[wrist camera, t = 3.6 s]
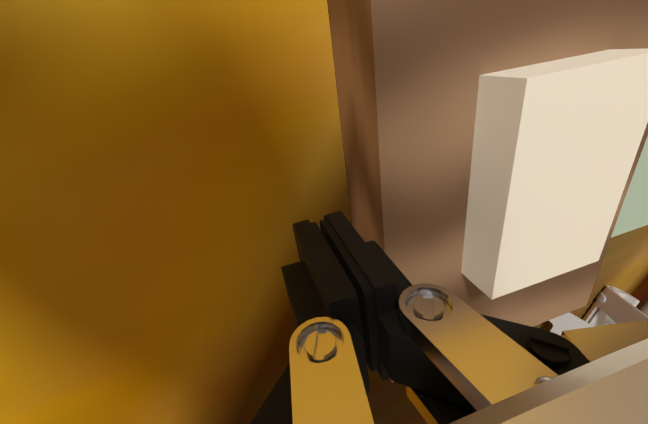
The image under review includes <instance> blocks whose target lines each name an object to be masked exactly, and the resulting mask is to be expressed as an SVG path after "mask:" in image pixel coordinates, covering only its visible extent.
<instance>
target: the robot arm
mask: <svg viewBox="0 0 648 424" xmlns="http://www.w3.org/2000/svg"><path fill="white" fill-rule="evenodd" d="M320 228H321V230H320V229H319V227H318V225H317V223H316V222H313V223H310V221H309V220H304V221H301V222H297V223H293V230H294V234H295V239H296V244H297V248H298V253H299V257H300V262H296V263H293V264H290V265H286V266H283V267H281V269H282V273H283V277H284V281H285V285H286V289H287V293H288V296H289V300H290V304H291V307H292V311H293V314H294V318H295V321H296V325H297V329H296V330H295V331H294V333H293V335H292V337H291V339H290V344H289V357H290V364H289V365H288V367H287V368H286V370H285V371H284V373H283V374H282V376H281V377H280V379H279V380H278V382H277V384H276V385H275V387H274V388H273V390H272V391H271V393H270V394H269V396H268V397H267V399H266V400H265V402H264V403H263V405H262V406H261V408H260V409H259V411H258V412H257V414H256V415H255V417H254V418H253V420H252V421H251V423H250V424H374V421H373V417H372V414H371V410H370V406H369V402H368V399H367V394H368V391H369V381H368V372H367V364H368V366H369V368H370V370H371V371H375V370H378V372H379V374H380V376H381V378H382V380H386V379H388V378H391V380H392V381H394V382H397V383H400V384H402V387H403V389H404V391H405V393H406V395H407V396H408V398H409V399H410V400H411V402H412V403H413V404H414V406H415V407H416V408H417V410H418V411H419V412H420V414H421V415H422V416H423V418H424V419H425V421H426V422H427V423H428V424H648V322H647V321H632V322H625V323H618V324H610V325H603V326H595V327H588V328H580V329H573V330H565V331H562V334H561V336H560V335H558V334H556V333H553V332H550V331H547V330H543V329H539V328H535V327H531V326H527V325H523V324H519V323H515V322H511V321H507V320H503V319H499V318H495V317H490V316H486V315H482V314H479V313H478V312H476V311H475V310H474V309H472V308H471V307H470V306H469V305H467V304H466V303H465V302H463V301H462V300H461V299H460V298H458V297H457V296H456V295H454V294H453V293H452V292H450V291H449V290H447V289H445V288H444V287H441V286H438V285H435V284H428V283H422V284H415V285H412V284H411V283H410V281H409V280H408V279H407V278H406V277H405V276H404V274H403V273H402V272H401V271H400V270H399V269H398V267H397V266H396V265H395V264H394V263H393V261H392V260H391V259H390V258H389V257H388V256H387V254H386V253H385V252H384V251H383V250H382V249H381V247H380V246H379V245H378V244H377V243H376V242H375V241H373V240H371V241H368V242H365V241H364V240H363V239H362V237H361V236H360V235H359V234H358V232H357V231H356V230H355V229H354V227H353V226H352V225H351V224H350V222H349V221H348V220H347V219H346V217H345V216H344V215H343V214H342V212H341V211H338V212H334V213H331V214H327V215H325V216H324V220H321V221H320ZM366 362H367V363H366Z"/></svg>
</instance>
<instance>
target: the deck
mask: <svg viewBox="0 0 648 424" xmlns="http://www.w3.org/2000/svg"><path fill="white" fill-rule="evenodd" d="M327 2H328V11H329V21H330V30H331V39H332V48H333V57H334V66H335V75H336V84H337V93H338V102H339V111H340V120H341V129H342V138H343V147H344V156H345V165H346V174H347V184H348V193H349V202H350V211H351V220H352V226H353V227H354V229H355V230H356V231H357V232H358V234H359V235H360V236H361V237H362V239H363V240H364V241H365V242H368V241H371V240H373V241H375V242H376V243H377V244H378V245H379V246H380V247H381V249H382V250H383V251H384V252H385V253H386V254H387V256H388V257H389V258H390V259H391V260H392V261H393V263H394V264H395V265H396V266H397V267H398V269H399V270H400V271H401V272H402V273H403V274H404V276H405V277H406V278H407V279H408V280H409V281H410V283H411V284H412V285H415V284H422V283H428V284H435V285H438V286H441V287H444V288H445V289H447V290H449V291H450V292H452V293H453V294H454V295H456V296H457V297H458V298H460V299H461V300H462V301H463V302H465V303H466V304H467V305H469V306H470V307H471V308H472V309H474V310H475V311H476V312H478V313H479V314H482V315H486V316H490V317H495V318H499V319H503V320H507V321H511V322H515V323H519V324H523V325H527V326H531V327H533V326H536V325H538V324H541V323H543V322H546V321H549V320H551V319H554V318H556V317H559V316H561V315H564V314H566V313H569V312H571V311H574V310H576V309H579V308H581V307H584V306H586V305H587V302H588V299H589V296H590V294H591V291H592V288H593V285H594V283H595V280H596V277H597V274H598V271H599V269H600V266H601V263H602V260H603V258H604V255H605V252H606V249H607V247H608V244H609V241H610V238H611V235H612V233H613V230H614V227H615V224H616V222H617V219H618V216H619V213H620V210H621V208H622V205H623V202H624V199H625V197H626V194H627V191H628V188H629V186H630V183H631V180H632V177H633V174H634V172H635V169H636V166H637V163H638V161H639V158H640V155H641V152H642V150H643V147H644V144H645V141H646V138H647V136H648V123H647V125H646V128H645V131H644V134H643V137H642V140H641V142H640V145H639V148H638V151H637V154H636V157H635V159H634V162H633V165H632V168H631V171H630V173H629V176H628V179H627V182H626V185H625V188H624V190H623V193H622V196H621V199H620V202H619V205H618V207H617V210H616V213H615V216H614V219H613V222H612V224H611V227H610V230H609V233H608V236H607V239H606V241H605V244H604V247H603V250H602V253H601V255H600V258H599V261H597V262H594V263H591V264H588V265H586V266H583V267H580V268H577V269H575V270H572V271H569V272H566V273H564V274H561V275H558V276H555V277H553V278H550V279H547V280H545V281H542V282H539V283H536V284H534V285H531V286H528V287H525V288H523V289H520V290H517V291H514V292H512V293H509V294H506V295H503V296H501V297H498V298H495V299H493V300H491V299H490V298H489V297H488V296H487V295H486V294H485V293H483V292H482V291H481V290H480V289H479V288H478V287H477V286H476V285H474V284H473V283H472V282H471V281H470V280H469V279H468V278H466V277H465V276H464V275H463V274H462V273H461V268H462V258H463V247H464V236H465V225H466V215H467V204H468V193H469V182H470V171H471V161H472V150H473V139H474V128H475V117H476V107H477V96H478V85H479V75H483V74H488V73H493V72H498V71H503V70H508V69H513V68H518V67H523V66H528V65H533V64H539V63H544V62H549V61H554V60H559V59H564V58H569V57H574V56H579V55H584V54H589V53H594V52H599V51H604V50H609V49H643V48H648V0H327ZM390 380H391V378H390ZM391 382H394V381H392V380H391Z"/></svg>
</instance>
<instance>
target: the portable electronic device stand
mask: <svg viewBox="0 0 648 424" xmlns="http://www.w3.org/2000/svg"><path fill="white" fill-rule="evenodd" d="M638 303H639V300H637V299H636V298H634V297H633V296H631V295H629V294H628V293H626V292H624V291H622V290H620V289H618V288H616V287H613V286H610V285H606V287H605V288H604V289H603V291H602V292H600V293H599V295H598V296H597V297H596V301H595V302H594V303H593V305H592V306H591V307H590V309H589V310H588V312H587V313H586V314H585V316H584V317H583V318H582V319H580V318H579V317H577V316H575V315H573V314H572V313H570V312H569V313H566V314H564V315H561V316H559V317H556V318H554V319H551V320H549V321H550V322H551V323H552V324H553V327H552V329H551V330H550V332H553V333H556V334H558V335H560V336H561V334H562V331H565V330H573V329H580V328H588V327H595V326H603V325H607V324H618V323H625V322H632V321H647V322H648V316H646V315H645V314H644V313H642V312H641V311H640V310H638V309H637V308H636V306H637V304H638Z"/></svg>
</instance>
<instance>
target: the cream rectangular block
mask: <svg viewBox="0 0 648 424" xmlns="http://www.w3.org/2000/svg"><path fill="white" fill-rule="evenodd" d="M647 123H648V48H643V49H609V50H604V51H599V52H594V53H589V54H584V55H579V56H574V57H569V58H564V59H559V60H554V61H549V62H544V63H539V64H533V65H528V66H523V67H518V68H513V69H508V70H503V71H498V72H493V73H488V74H483V75H479V85H478V96H477V107H476V117H475V128H474V139H473V150H472V161H471V171H470V182H469V193H468V204H467V215H466V225H465V236H464V247H463V258H462V268H461V273H462V274H463V275H464V276H465V277H466V278H468V279H469V280H470V281H471V282H472V283H473V284H474V285H476V286H477V287H478V288H479V289H480V290H481V291H482V292H483V293H485V294H486V295H487V296H488V297H489V298H490V299H491V300H493V299H495V298H498V297H501V296H503V295H506V294H509V293H512V292H514V291H517V290H520V289H523V288H525V287H528V286H531V285H534V284H536V283H539V282H542V281H545V280H547V279H550V278H553V277H555V276H558V275H561V274H564V273H566V272H569V271H572V270H575V269H577V268H580V267H583V266H586V265H588V264H591V263H594V262H597V261H599V258H600V255H601V253H602V250H603V247H604V244H605V241H606V239H607V236H608V233H609V230H610V227H611V224H612V222H613V219H614V216H615V213H616V210H617V207H618V205H619V202H620V199H621V196H622V193H623V190H624V188H625V185H626V182H627V179H628V176H629V173H630V171H631V168H632V165H633V162H634V159H635V157H636V154H637V151H638V148H639V145H640V142H641V140H642V137H643V134H644V131H645V128H646V125H647Z"/></svg>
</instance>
